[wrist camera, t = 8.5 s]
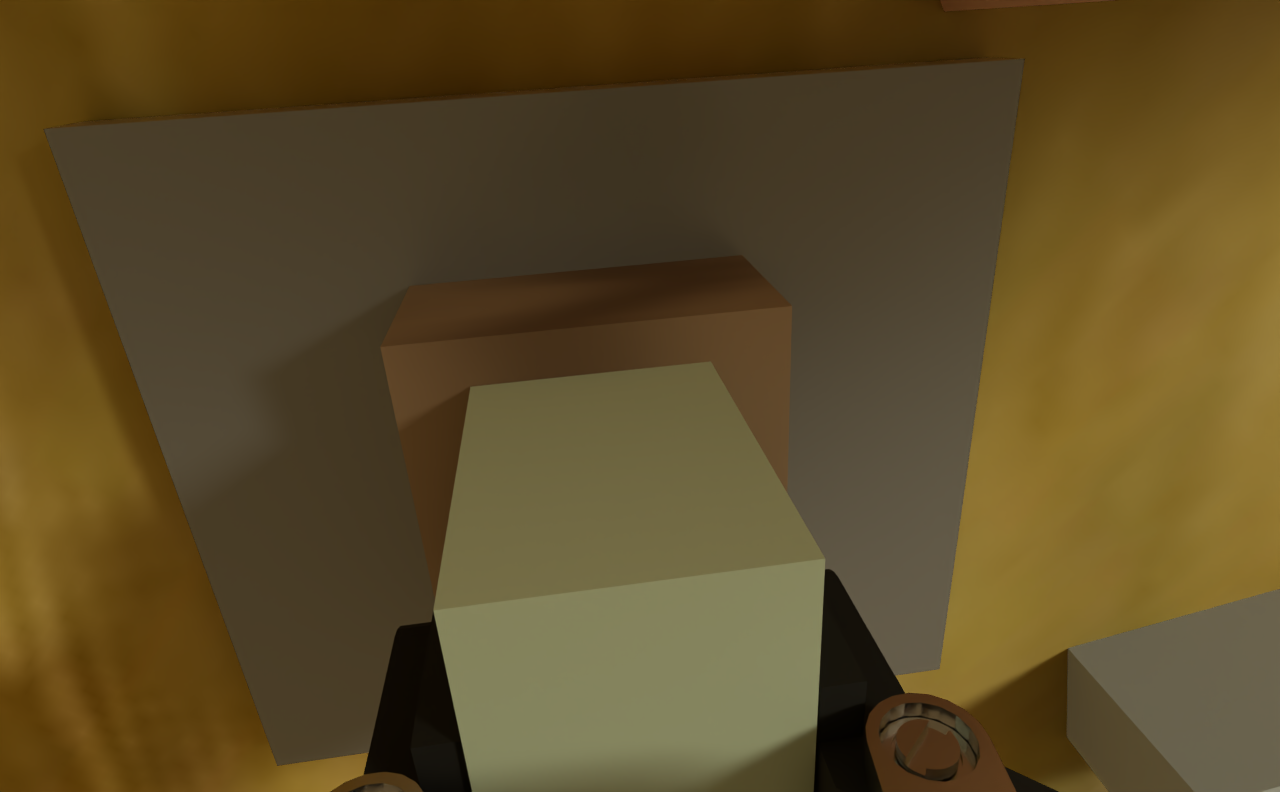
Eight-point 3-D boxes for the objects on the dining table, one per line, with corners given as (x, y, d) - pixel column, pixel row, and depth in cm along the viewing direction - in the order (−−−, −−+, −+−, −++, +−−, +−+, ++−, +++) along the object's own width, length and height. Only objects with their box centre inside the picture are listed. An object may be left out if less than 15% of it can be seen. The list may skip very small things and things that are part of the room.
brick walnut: (742, 255, 14) (792, 305, 12) (743, 600, 18) (781, 702, 15) (409, 285, 14) (380, 346, 11) (476, 636, 17) (466, 748, 14)
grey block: (1289, 583, 22) (1488, 727, 17) (1272, 675, 23) (1451, 829, 19) (1066, 646, 22) (1207, 806, 17) (1064, 734, 23) (1194, 902, 19)
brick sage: (469, 386, 11) (432, 610, 7) (710, 361, 12) (825, 558, 7) (524, 711, 14) (522, 1026, 10) (717, 683, 14) (804, 974, 10)
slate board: (987, 57, 15) (1024, 58, 13) (917, 635, 20) (939, 669, 19) (83, 121, 13) (44, 129, 12) (291, 724, 19) (277, 765, 18)
